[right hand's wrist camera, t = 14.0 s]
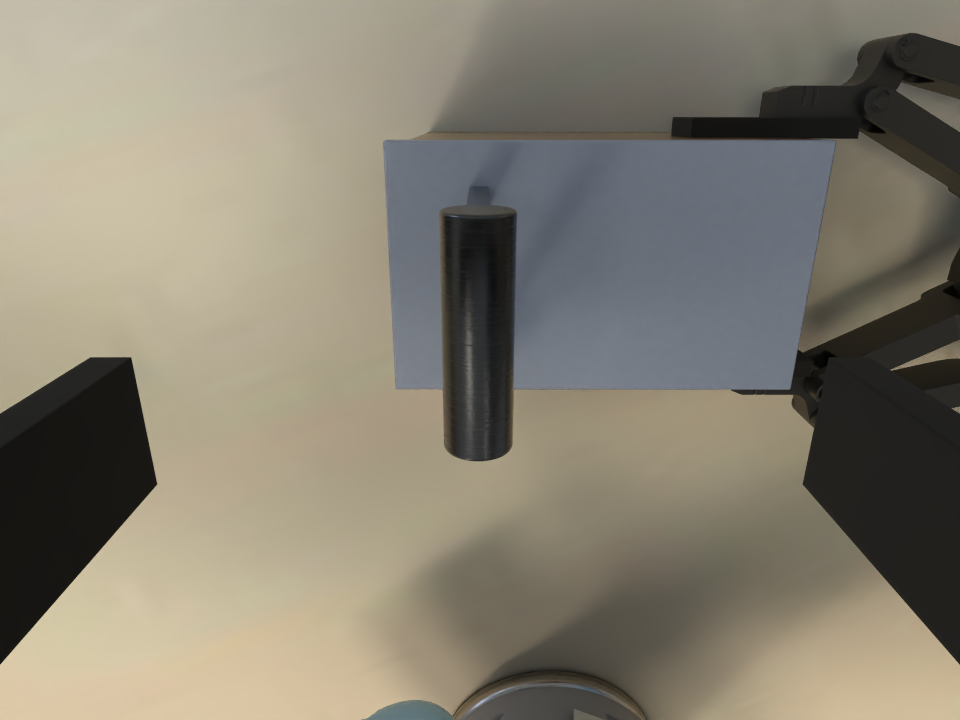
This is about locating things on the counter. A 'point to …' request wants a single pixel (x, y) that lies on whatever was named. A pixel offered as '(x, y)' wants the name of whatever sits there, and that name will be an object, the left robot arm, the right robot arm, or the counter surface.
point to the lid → (596, 268)
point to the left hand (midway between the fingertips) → (668, 250)
